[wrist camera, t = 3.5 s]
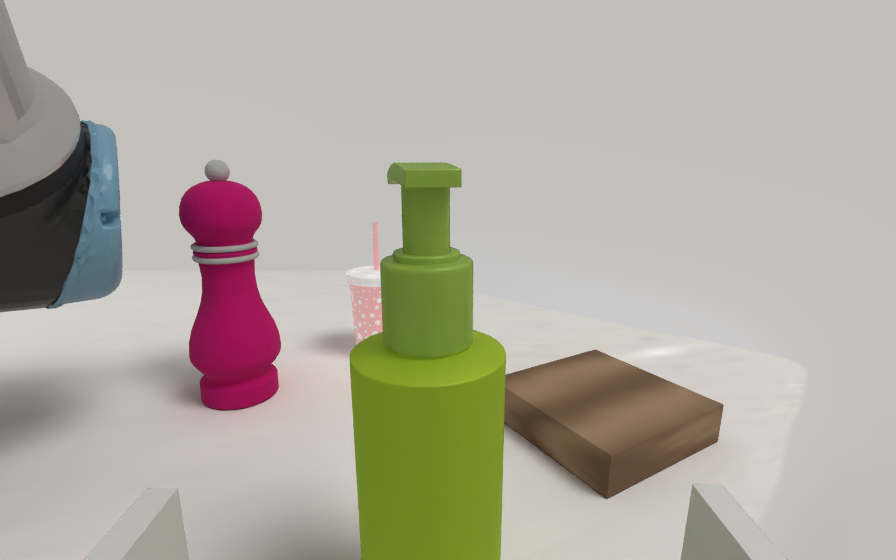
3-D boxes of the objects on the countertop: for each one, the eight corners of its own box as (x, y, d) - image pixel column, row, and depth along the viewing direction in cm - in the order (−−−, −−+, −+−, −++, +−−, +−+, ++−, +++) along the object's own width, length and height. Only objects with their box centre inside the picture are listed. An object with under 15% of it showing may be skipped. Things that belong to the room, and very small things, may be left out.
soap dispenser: (471, 543, 26) (474, 162, 21) (518, 673, 19) (539, 162, 14) (361, 563, 24) (337, 162, 19) (371, 711, 18) (338, 164, 13)
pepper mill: (259, 368, 47) (239, 159, 42) (300, 391, 42) (282, 160, 37) (181, 394, 42) (148, 159, 37) (218, 423, 37) (185, 159, 32)
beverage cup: (369, 339, 55) (365, 217, 51) (417, 347, 52) (416, 220, 49) (338, 359, 49) (330, 224, 46) (390, 369, 47) (386, 228, 44)
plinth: (490, 412, 39) (491, 378, 38) (592, 378, 45) (595, 349, 44) (607, 498, 29) (611, 455, 28) (717, 441, 35) (723, 404, 35)
